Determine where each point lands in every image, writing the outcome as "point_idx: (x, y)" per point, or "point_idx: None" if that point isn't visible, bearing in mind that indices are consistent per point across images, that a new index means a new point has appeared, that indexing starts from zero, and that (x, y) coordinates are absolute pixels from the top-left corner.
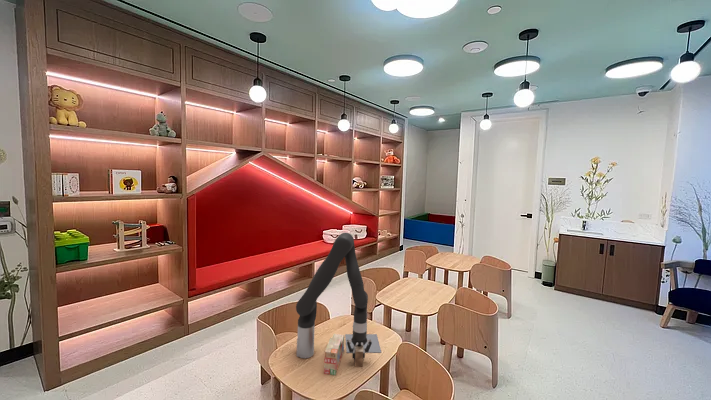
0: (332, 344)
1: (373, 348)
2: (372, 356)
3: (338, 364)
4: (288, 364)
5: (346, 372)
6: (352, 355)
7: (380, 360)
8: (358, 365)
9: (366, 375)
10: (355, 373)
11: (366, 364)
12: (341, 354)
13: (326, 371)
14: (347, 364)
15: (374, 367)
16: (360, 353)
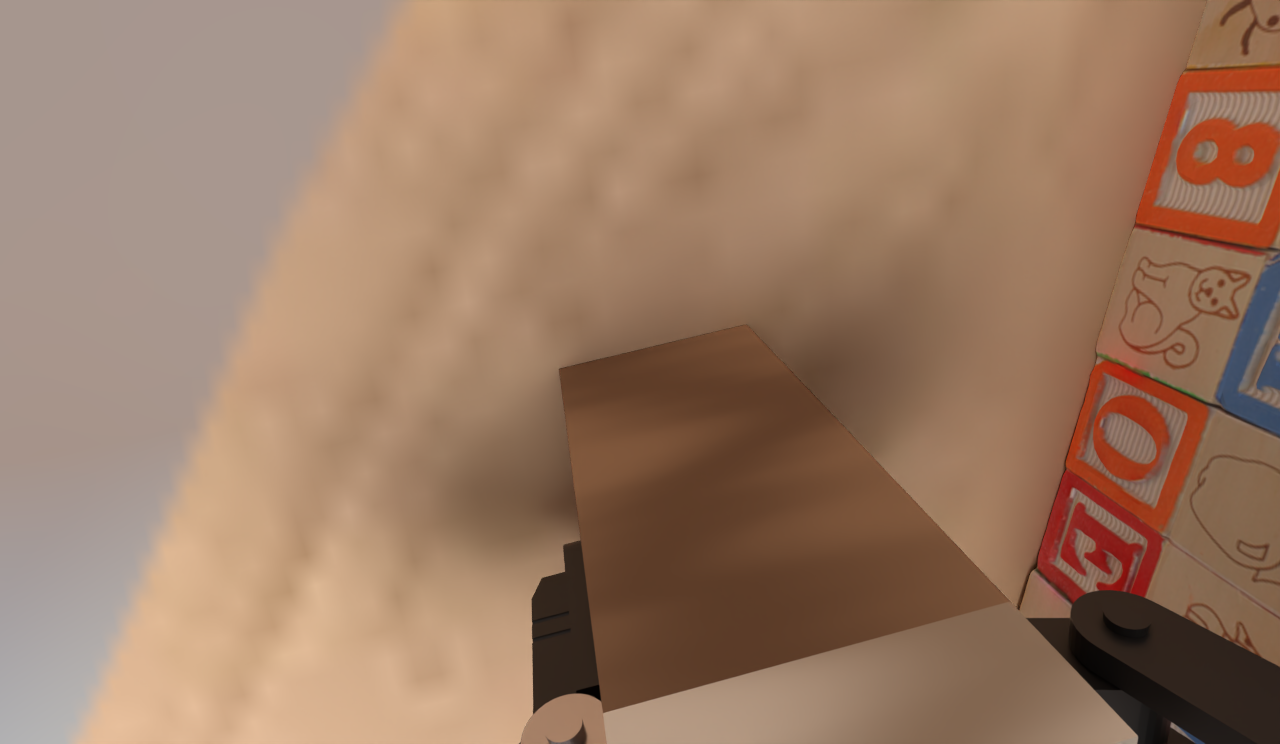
0: None
1: None
2: (382, 733)
3: (1196, 241)
4: None
5: (956, 66)
6: None
7: (153, 674)
8: (669, 356)
9: (386, 36)
10: (717, 69)
11: (472, 469)
12: (1076, 589)
13: None
14: (923, 365)
15: (235, 414)
16: (722, 601)
